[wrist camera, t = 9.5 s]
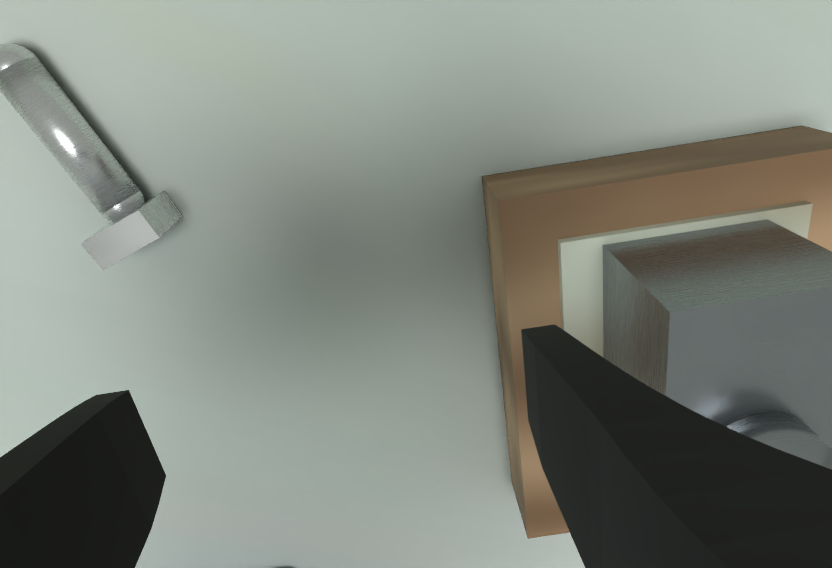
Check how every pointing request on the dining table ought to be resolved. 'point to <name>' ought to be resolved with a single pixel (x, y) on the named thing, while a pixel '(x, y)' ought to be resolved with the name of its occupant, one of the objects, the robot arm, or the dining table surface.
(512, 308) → the stand
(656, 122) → the dining table surface
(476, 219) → the dining table surface
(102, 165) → the loose bolt
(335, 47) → the dining table surface
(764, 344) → the block
